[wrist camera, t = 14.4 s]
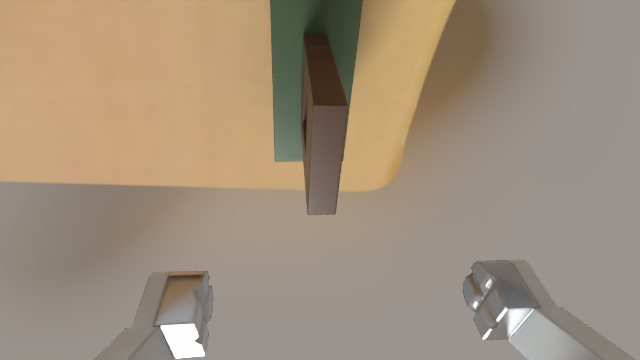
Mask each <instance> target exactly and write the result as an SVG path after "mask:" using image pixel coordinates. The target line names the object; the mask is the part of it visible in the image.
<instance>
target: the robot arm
mask: <svg viewBox="0 0 640 360" xmlns="http://www.w3.org/2000/svg"><path fill="white" fill-rule="evenodd" d="M471 269H472V272H473V273H472V274H470V275H468V276H467V277H466V278H465V281H464V283H463V294H464V298H465V300H466V303H467V305H468V307H470V308H471V309H472V310H473V311H474V312H475V316H474V321H475V324H476V326H477V328H478V330H479V333H480V335H481V337H482V339H483V340H501V339H510V340H509V341H510V342H511V343H512V344H513V345H514V346H515V347H516V348H517V349H518V350H519V351H520V352H521V353H522V354H523V355H524V356H525V357H526V358H527V359H528V360H635V359H634V358H632V357H631V356H630V355H628V354H627V353H625V352H624V351H623V350H621V349H620V348H618V347H617V346H616V345H614V344H613V343H611V342H610V341H609V340H607V339H606V338H604V337H603V336H602V335H600V334H599V333H597V332H596V331H594V330H593V329H592V328H591V327H589V326H588V325H586V324H585V323H583V322H582V321H581V320H579V319H578V318H576V317H575V316H574V315H572V314H571V313H569V312H568V311H567V310H565V309H564V308H562V307H557V306H556V304H555V303H554V301H553V300H552V298H551V297H550V295H549V294H548V292H547V291H546V289H545V287H544V286H543V284H542V283H541V281H540V280H539V278H538V277H537V275H536V274H535V272H534V271H533V269H532V268H531V266H530V265H529V263H528V262H526V261H525V260H496V261H478V262H476V263H474V264H473V266H472V267H471ZM212 311H213V290H212V286H210V285H209V274H208V271H186V272H185V271H182V272H152V274H151V275H150V276H149V278H148V281H147V284H146V286H145V289H144V292H143V295H142V298H141V301H140V304H139V307H138V310H137V313H136V316H135V319H134V322H133V325H132V328H125V330H124V331H123V332H121V333H120V334H119V336H117V337H116V338H115V339H114V340H113V341H112V342H111V343H110V344H109V345H108V346H107V347H106V348H105V349H104V350H103V351H102V352H101V353H100V354H99V355H98V356H97V357H96V358H95V359H94V360H174V358H185V357H198V356H205V354H206V348H207V341H208V336H209V331H208V328H207V323H208V321H209V320H210V319H211V317H212Z"/></svg>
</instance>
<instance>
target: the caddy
mask: <svg viewBox="0 0 640 360" xmlns="http://www.w3.org/2000/svg"><path fill="white" fill-rule="evenodd" d="M362 2H363V0H270V7H271V42H272V78H273V113H274V149H275V161H276V162H280V161H303V162H304V175H305V189H306V202H307V214H308V215H326V214H327V215H332V214H335V213H336V206H337V198H338V189H339V181H340V173H341V165H342V161H343V156H344V148H345V140H346V132H347V124H348V116H349V108H350V99H351V91H352V83H353V75H354V67H355V59H356V51H357V43H358V35H359V26H360V18H361V10H362Z"/></svg>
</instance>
